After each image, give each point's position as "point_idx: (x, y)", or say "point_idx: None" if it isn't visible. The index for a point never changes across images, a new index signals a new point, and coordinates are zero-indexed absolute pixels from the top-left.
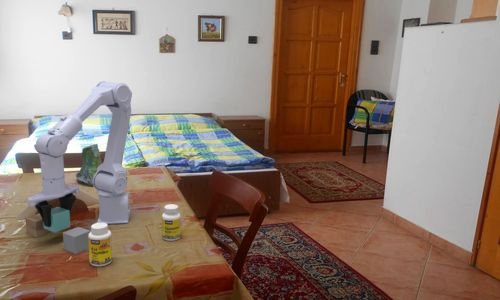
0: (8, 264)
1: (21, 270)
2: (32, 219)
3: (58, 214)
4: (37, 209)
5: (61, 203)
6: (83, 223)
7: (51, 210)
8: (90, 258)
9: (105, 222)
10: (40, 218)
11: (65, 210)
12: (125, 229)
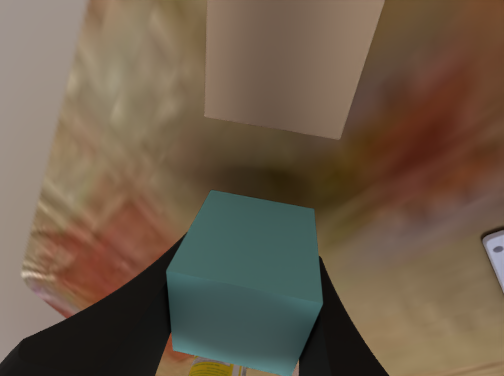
0: (53, 190)
1: (74, 243)
2: (221, 51)
3: (211, 355)
4: (86, 316)
5: (319, 369)
6: (493, 168)
7: (225, 305)
8: (192, 363)
9: (500, 268)
10: (270, 95)
11: (277, 365)
12: (445, 330)
